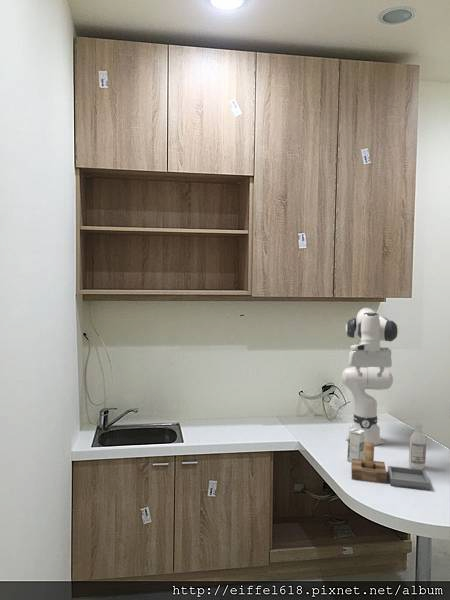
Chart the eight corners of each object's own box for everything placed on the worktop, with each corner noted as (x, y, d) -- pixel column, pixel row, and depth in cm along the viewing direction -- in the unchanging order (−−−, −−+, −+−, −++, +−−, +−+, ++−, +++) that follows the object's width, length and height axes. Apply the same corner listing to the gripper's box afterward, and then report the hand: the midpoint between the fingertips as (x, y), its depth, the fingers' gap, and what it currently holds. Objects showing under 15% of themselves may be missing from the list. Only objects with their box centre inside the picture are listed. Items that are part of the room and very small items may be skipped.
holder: (351, 467, 224) (351, 458, 224) (383, 470, 221) (384, 462, 221) (351, 479, 211) (352, 469, 211) (386, 483, 208) (386, 473, 207)
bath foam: (427, 469, 224) (429, 425, 223) (412, 469, 224) (414, 425, 223) (420, 464, 231) (422, 421, 230) (406, 464, 231) (408, 421, 230)
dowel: (363, 472, 218) (364, 441, 218) (372, 473, 217) (374, 442, 217) (363, 476, 215) (364, 443, 214) (373, 477, 214) (374, 444, 213)
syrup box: (352, 457, 237) (353, 427, 236) (364, 461, 233) (365, 430, 233) (347, 461, 232) (348, 430, 232) (359, 464, 229) (360, 432, 228)
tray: (387, 472, 219) (388, 465, 219) (424, 476, 216) (424, 469, 216) (390, 485, 205) (390, 478, 205) (429, 490, 201) (430, 483, 201)
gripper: (388, 347, 238) (387, 376, 237) (347, 346, 236) (346, 375, 235) (394, 347, 232) (394, 377, 231) (352, 346, 230) (351, 376, 228)
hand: (369, 376), depth 233 cm, fingers open, 8 cm apart
